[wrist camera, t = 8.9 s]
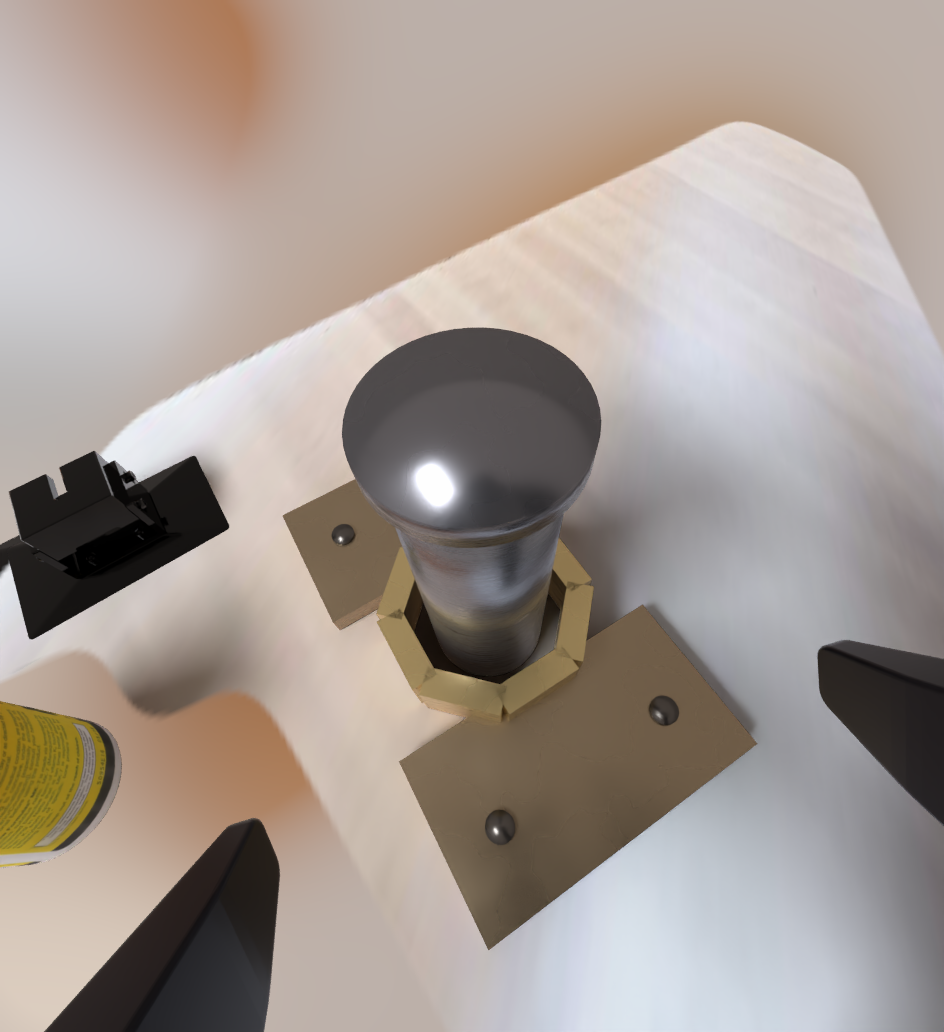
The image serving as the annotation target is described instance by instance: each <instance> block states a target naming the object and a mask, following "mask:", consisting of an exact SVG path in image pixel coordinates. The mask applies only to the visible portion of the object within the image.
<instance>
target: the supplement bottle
mask: <svg viewBox="0 0 944 1032" xmlns="http://www.w3.org/2000/svg"><path fill="white" fill-rule="evenodd" d="M121 765H122V763H121V754H120V750H119V747H118V744H117V742H116V740H115V739H114V737H113V735H112V734H111V733H110V732H109V731H108V730H107V729H106V728H104V727H103V726H101V725H99V724H97V723H94V722H91V721H87V720H83V719H79V718H74V717H70V716H64V715H60V714H56V713H52V712H47V711H43V710H38V709H34V708H30V707H24V706H20V705H15V704H10V703H6V702H1V701H0V868H6V867H14V866H22V865H31V864H37V863H42V862H45V861H48V860H51V859H53V858H56V857H58V856H60V855H62V854H64V853H65V852H67V851H69V850H70V849H72V848H73V847H74V846H76V845H77V844H78V843H80V842H81V841H82V840H83V839H84V838H85V837H87V836H88V835H89V834H90V833H91V832H92V831H93V829H95V828H96V826H97V825H98V824H99V823H100V822H101V820H102V819H103V817H104V816H105V815H106V813H107V811H108V809H109V808H110V806H111V804H112V802H113V800H114V798H115V795H116V792H117V789H118V786H119V783H120V778H121V769H122V768H121V767H122V766H121Z"/></svg>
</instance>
